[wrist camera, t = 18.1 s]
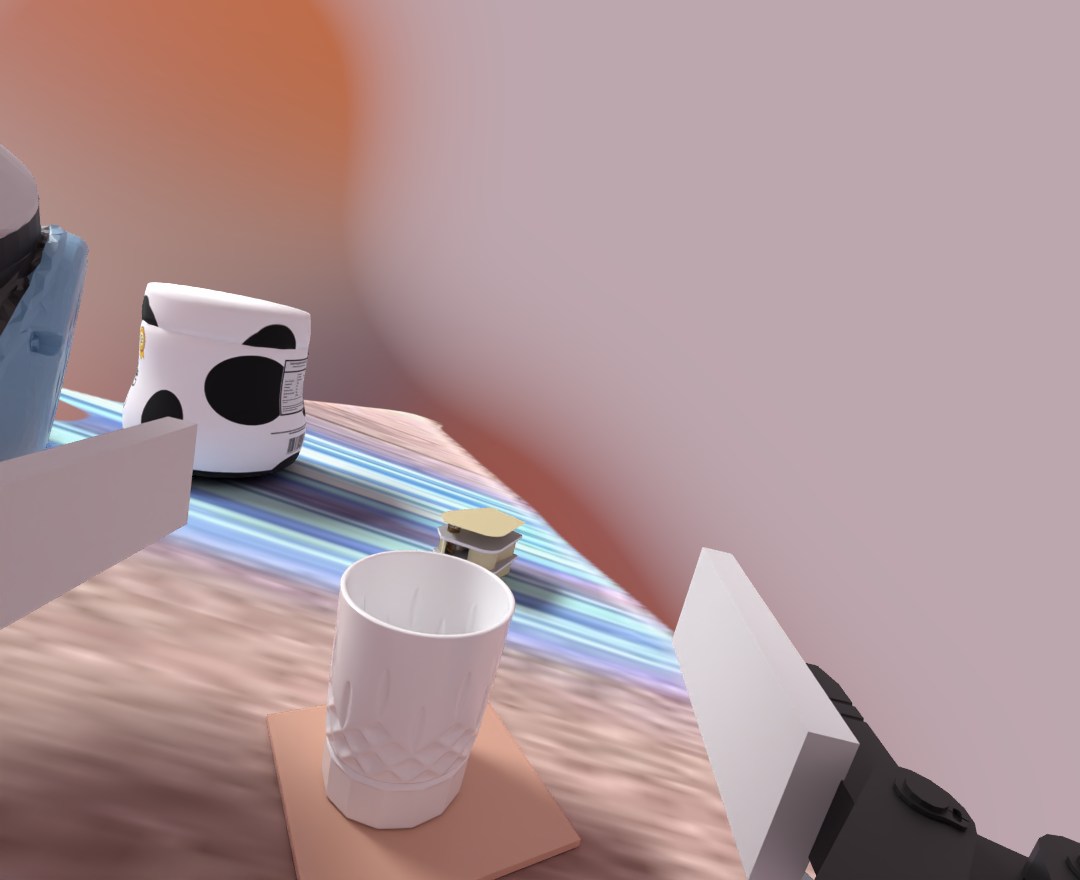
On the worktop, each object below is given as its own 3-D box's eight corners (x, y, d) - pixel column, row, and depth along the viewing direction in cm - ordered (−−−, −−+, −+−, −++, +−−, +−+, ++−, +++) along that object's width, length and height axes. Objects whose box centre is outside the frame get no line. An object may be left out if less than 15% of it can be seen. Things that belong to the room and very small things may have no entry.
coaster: (311, 950, 21) (312, 941, 21) (266, 721, 30) (267, 714, 30) (579, 846, 27) (581, 839, 27) (472, 685, 37) (473, 679, 37)
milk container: (115, 435, 66) (128, 273, 62) (279, 443, 76) (298, 305, 73) (122, 491, 52) (139, 290, 49) (318, 490, 63) (344, 325, 60)
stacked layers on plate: (466, 546, 59) (477, 494, 58) (540, 582, 55) (554, 527, 53) (395, 572, 50) (406, 512, 49) (477, 617, 46) (491, 553, 45)
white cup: (381, 696, 34) (412, 536, 32) (500, 761, 31) (542, 590, 29) (269, 784, 26) (299, 584, 24) (411, 879, 24) (458, 662, 22)
